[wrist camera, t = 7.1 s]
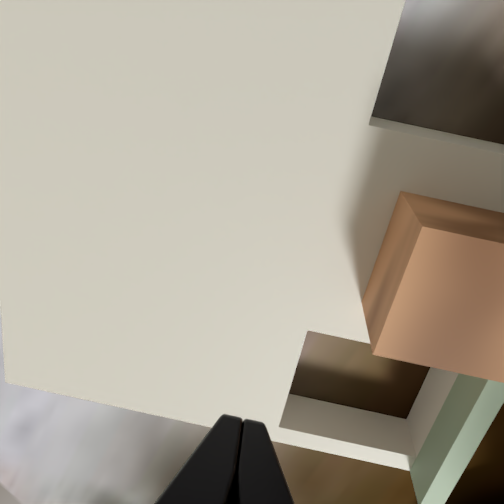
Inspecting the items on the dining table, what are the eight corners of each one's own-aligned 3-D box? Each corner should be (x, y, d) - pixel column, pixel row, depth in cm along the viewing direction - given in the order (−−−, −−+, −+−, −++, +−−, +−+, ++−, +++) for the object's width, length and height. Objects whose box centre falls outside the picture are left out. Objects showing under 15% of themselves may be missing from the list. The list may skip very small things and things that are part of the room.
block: (532, 218, 17) (583, 260, 14) (478, 327, 19) (512, 384, 16) (400, 190, 17) (422, 226, 14) (361, 302, 19) (372, 354, 16)
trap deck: (655, -48, 15) (782, -78, 11) (417, 436, 25) (439, 511, 21) (14, -182, 15) (-88, -259, 11) (31, 351, 26) (-20, 411, 22)
